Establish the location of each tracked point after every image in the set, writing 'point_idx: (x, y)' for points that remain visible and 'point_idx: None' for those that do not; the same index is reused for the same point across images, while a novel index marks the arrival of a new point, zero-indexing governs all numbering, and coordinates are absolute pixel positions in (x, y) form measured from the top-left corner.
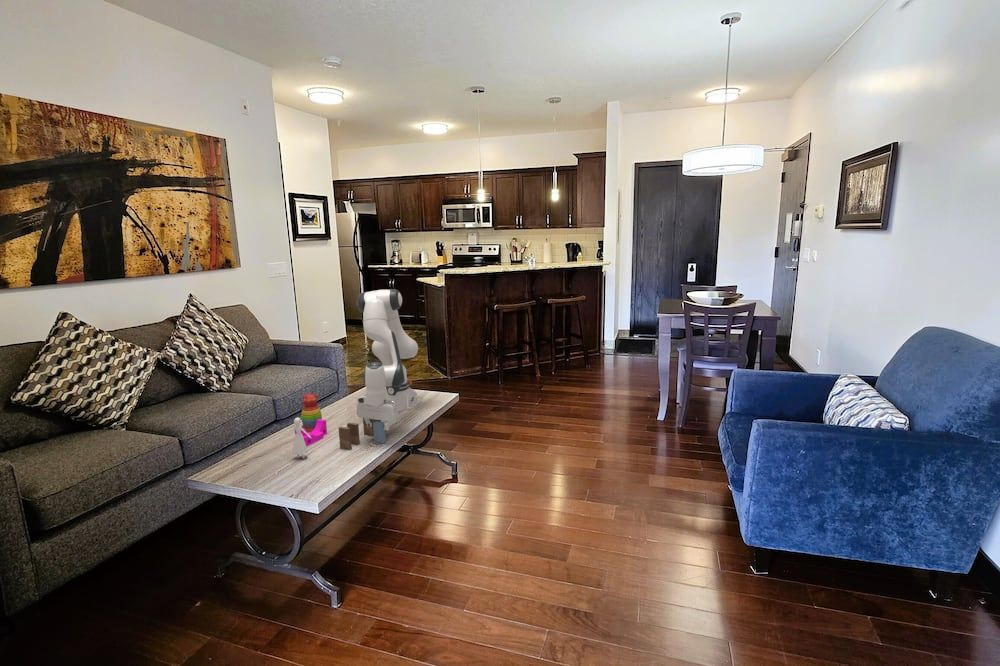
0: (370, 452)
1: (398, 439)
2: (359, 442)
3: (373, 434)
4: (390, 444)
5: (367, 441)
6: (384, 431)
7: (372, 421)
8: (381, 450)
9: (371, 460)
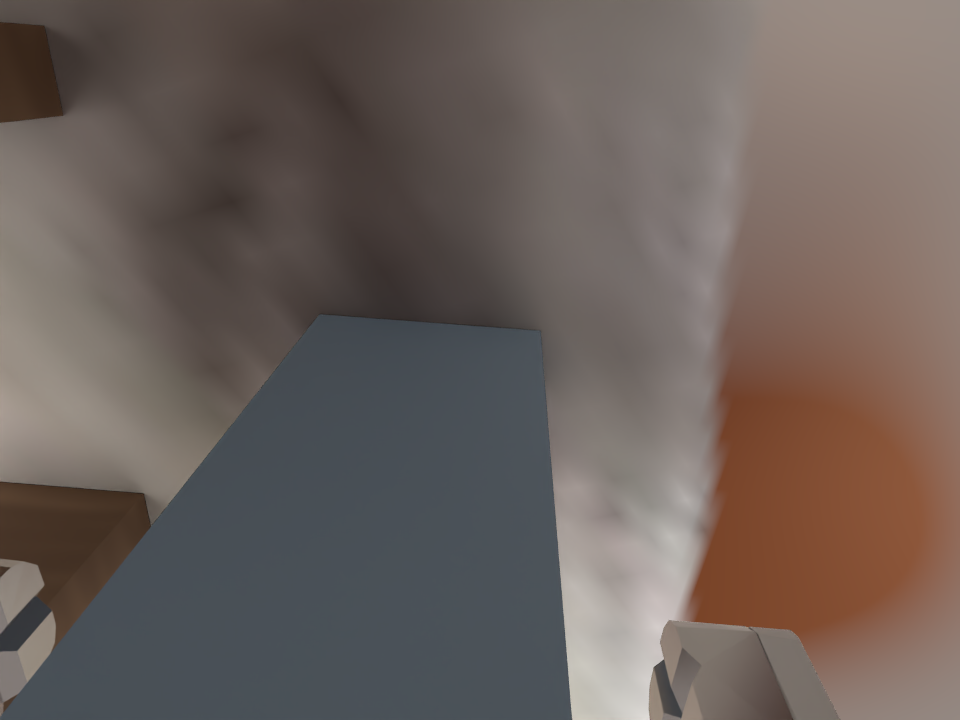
0: None
1: (733, 53)
2: (120, 527)
3: (16, 82)
4: (665, 353)
5: (147, 346)
6: (551, 506)
7: None
8: (622, 581)
9: None
